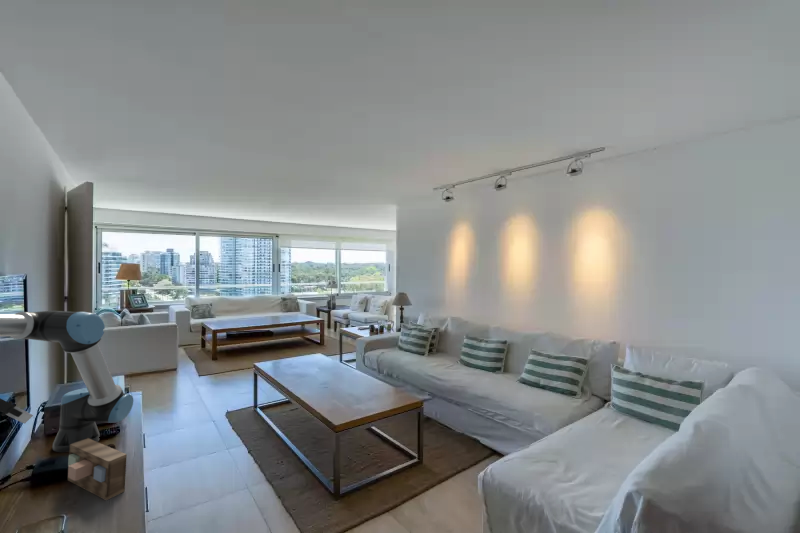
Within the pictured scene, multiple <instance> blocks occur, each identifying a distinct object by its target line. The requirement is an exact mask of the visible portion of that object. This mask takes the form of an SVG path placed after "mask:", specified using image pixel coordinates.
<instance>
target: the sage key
mask: <svg viewBox="0 0 800 533" xmlns="http://www.w3.org/2000/svg"><path fill="white" fill-rule="evenodd" d="M67 460H68V462H67V467H68V466H69V465H72V464H74V463H77V462H79V461H80V456H79V455H77V454H74V453H73V454H70V455H69V454H68V459H67Z"/></svg>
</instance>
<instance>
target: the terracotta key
mask: <svg viewBox="0 0 800 533" xmlns="http://www.w3.org/2000/svg"><path fill="white" fill-rule="evenodd" d="M92 464H93V462H92V461H90V460H87V459H85V460H82V461H79V462H77V463H74V464H72V465H69V466H68V465H67V467H68V468H67V479H68V478H70V479H72V480H74V481H77V480H79V479H82V478H84V477H86V476H89V475H91V474H92Z"/></svg>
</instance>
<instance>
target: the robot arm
mask: <svg viewBox="0 0 800 533" xmlns="http://www.w3.org/2000/svg"><path fill="white" fill-rule="evenodd" d="M105 328H106V326H105V323H104V320H103V319H102V317H100V315H98V314H96V313H93V312H87V311H64V310H45V311H44V310H42V311H19V312H16V313H14V314H11V313H10V314H5V313H4V314H3V313H2V314H1V313H0V337H3V338H4V337H10V338H13V339H14V340H15V339H16V340H34V341H42V342H51V343H52V342H53V343H59V344H60V346H61V348H62V350H63V352H64V353H67V354H70V355H71V356H72V359H73V361H74V363H75V366H76V367H77V368H76V369H77V370H78V372H79V374H80V377H81V378H82V380H83V382H84V384H85V387H84V388H79V389H75V390H71V391H68V392H67V393H65V394H63V395H62V396H61V400H60V406H59V407H60V410H59V430H58V432H57V434H56V436H55V438H54V440H53V442H52V452H53V451H54V452H55V453H69V451H70V444H72V443H75V442H78V441H81V440H84V439H87V438H89V439H91V440H94V441H96V442H98V443H99V441H100V438H99V437H101V434H100V431H99V429H98V426H97V424H96V423H108V424H109V423H110V424H111V423H120V422H122V421H124V420H125V419H126V418H127V417H128V416H129V414H130V413H131V410H132V408H133V405H134V397H133V395H132V394H130V393H124V390H123V388H122V386H121V385H119V384H116V383H115V380H114V378H113V376H112V373H111V371H110V367H108V363H107V361H106V359H105V356H104V354H103V352H102V349H101V346H100V344H99V343H100V342H101V340H102V337H103V335H104V333H105V331H104V330H105ZM0 416H2V417H4V416H8V417H10V418H12V419H14V420H16V421H18V422H20V423H22V424H26V423H28V422H29V420H30V419H32V417H34V415H33V414H31V413H29V412H28V411H26V410H24V409H22V408H20V407H18V406H16V405H15V404H13V401H12V400H9V401H7V400H4V399H3V398H0Z"/></svg>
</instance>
